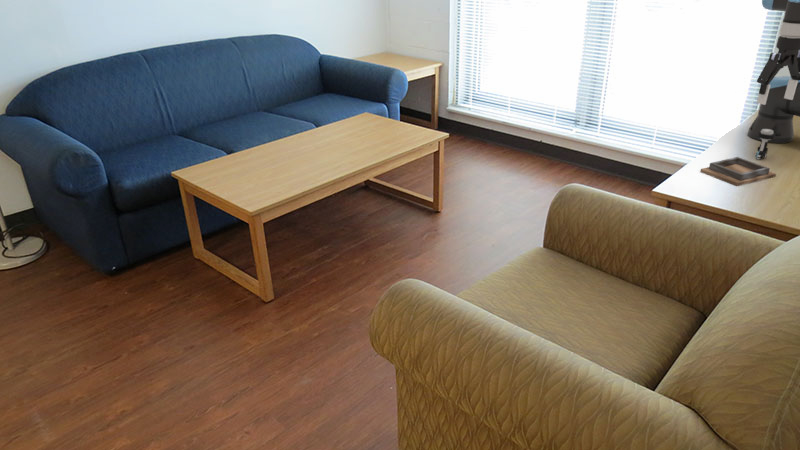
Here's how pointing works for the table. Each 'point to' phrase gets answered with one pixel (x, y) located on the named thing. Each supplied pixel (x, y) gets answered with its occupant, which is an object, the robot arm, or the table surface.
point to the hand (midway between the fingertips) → (774, 101)
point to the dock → (737, 171)
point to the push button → (764, 142)
